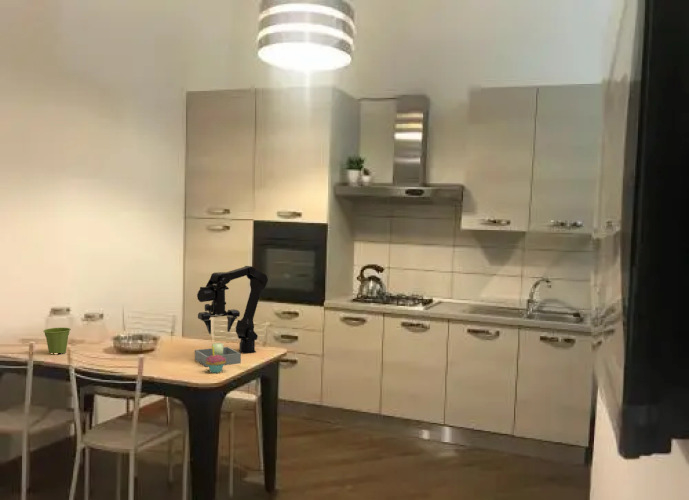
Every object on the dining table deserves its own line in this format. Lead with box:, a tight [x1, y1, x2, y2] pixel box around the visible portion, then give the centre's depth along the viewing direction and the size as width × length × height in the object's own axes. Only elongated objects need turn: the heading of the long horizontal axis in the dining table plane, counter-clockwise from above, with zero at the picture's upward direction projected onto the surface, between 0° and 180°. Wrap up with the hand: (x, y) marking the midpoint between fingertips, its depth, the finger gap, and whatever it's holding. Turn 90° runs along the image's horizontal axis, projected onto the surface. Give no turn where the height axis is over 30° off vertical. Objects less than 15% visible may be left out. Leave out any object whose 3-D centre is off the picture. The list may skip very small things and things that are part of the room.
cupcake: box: [206, 343, 226, 374], centre depth 266 cm, size 9×8×12 cm
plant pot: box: [42, 327, 71, 354], centre depth 294 cm, size 12×12×11 cm
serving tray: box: [194, 346, 242, 368], centre depth 284 cm, size 16×16×4 cm
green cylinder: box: [212, 342, 224, 355], centre depth 284 cm, size 5×5×7 cm
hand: (219, 332), depth 291 cm, fingers open, 9 cm apart
